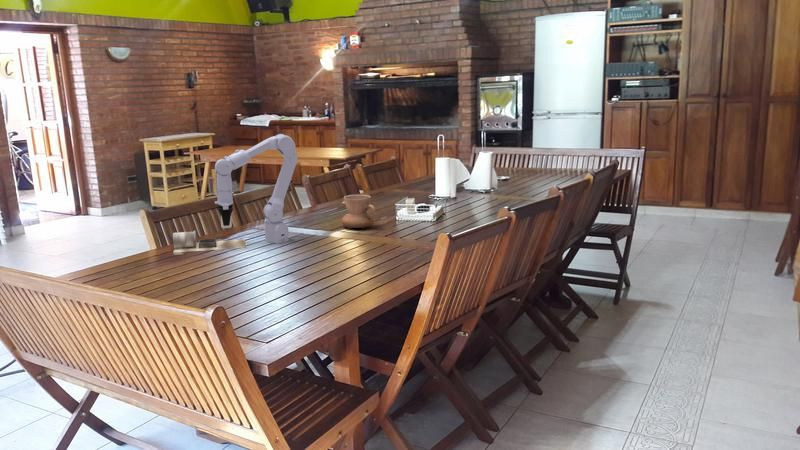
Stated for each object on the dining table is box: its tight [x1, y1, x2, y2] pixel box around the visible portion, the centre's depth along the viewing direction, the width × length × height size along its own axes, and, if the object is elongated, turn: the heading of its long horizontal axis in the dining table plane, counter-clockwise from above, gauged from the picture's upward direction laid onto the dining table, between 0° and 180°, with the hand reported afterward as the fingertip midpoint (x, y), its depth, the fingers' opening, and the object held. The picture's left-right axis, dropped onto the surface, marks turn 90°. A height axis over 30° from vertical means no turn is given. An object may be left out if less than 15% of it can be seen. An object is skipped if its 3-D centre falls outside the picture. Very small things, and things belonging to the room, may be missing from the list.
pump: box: [220, 216, 233, 229], centre depth 251 cm, size 4×4×7 cm
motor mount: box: [172, 230, 247, 256], centre depth 251 cm, size 27×14×7 cm, turn 106°
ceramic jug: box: [341, 194, 376, 229], centre depth 285 cm, size 18×14×14 cm
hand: (226, 224), depth 251 cm, fingers closed on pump, 4 cm apart
